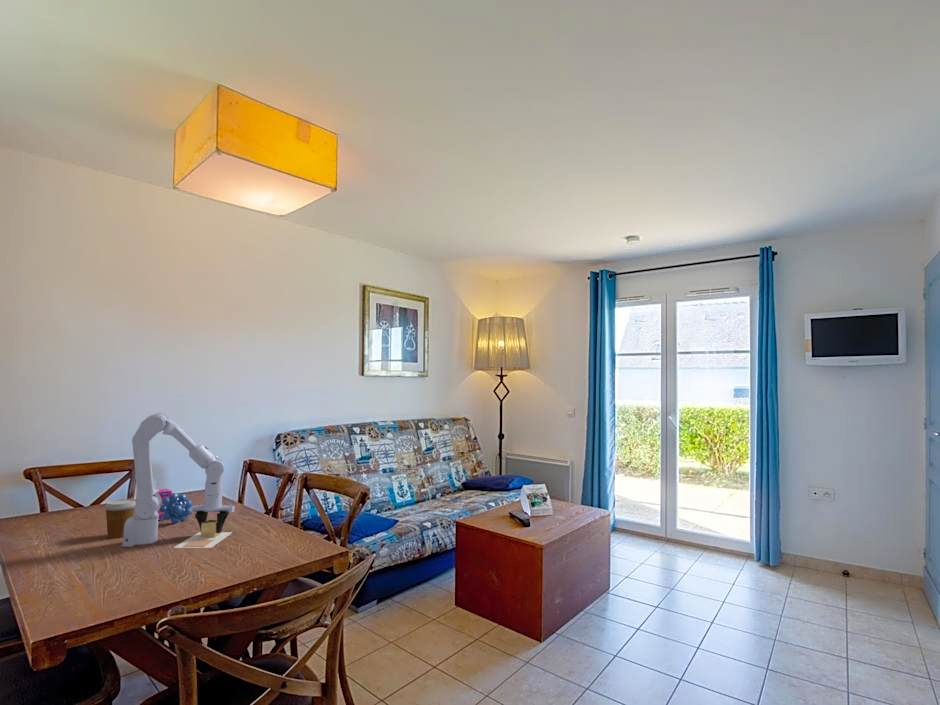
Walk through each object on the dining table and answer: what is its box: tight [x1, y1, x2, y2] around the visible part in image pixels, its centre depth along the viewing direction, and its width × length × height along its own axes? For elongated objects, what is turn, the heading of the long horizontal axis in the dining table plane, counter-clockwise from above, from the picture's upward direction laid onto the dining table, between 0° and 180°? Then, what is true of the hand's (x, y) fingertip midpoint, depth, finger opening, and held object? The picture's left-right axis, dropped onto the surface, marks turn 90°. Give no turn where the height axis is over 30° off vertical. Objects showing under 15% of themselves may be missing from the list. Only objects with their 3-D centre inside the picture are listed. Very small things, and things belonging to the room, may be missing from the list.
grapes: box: [160, 492, 194, 524], centre depth 197 cm, size 12×7×12 cm, turn 132°
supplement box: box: [155, 488, 173, 521], centre depth 204 cm, size 6×6×12 cm
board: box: [173, 531, 233, 549], centre depth 176 cm, size 12×18×4 cm, turn 4°
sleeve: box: [200, 518, 222, 537], centre depth 181 cm, size 5×5×5 cm
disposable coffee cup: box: [104, 498, 136, 539], centre depth 181 cm, size 10×10×12 cm
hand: (211, 532), depth 180 cm, fingers closed on sleeve, 5 cm apart
